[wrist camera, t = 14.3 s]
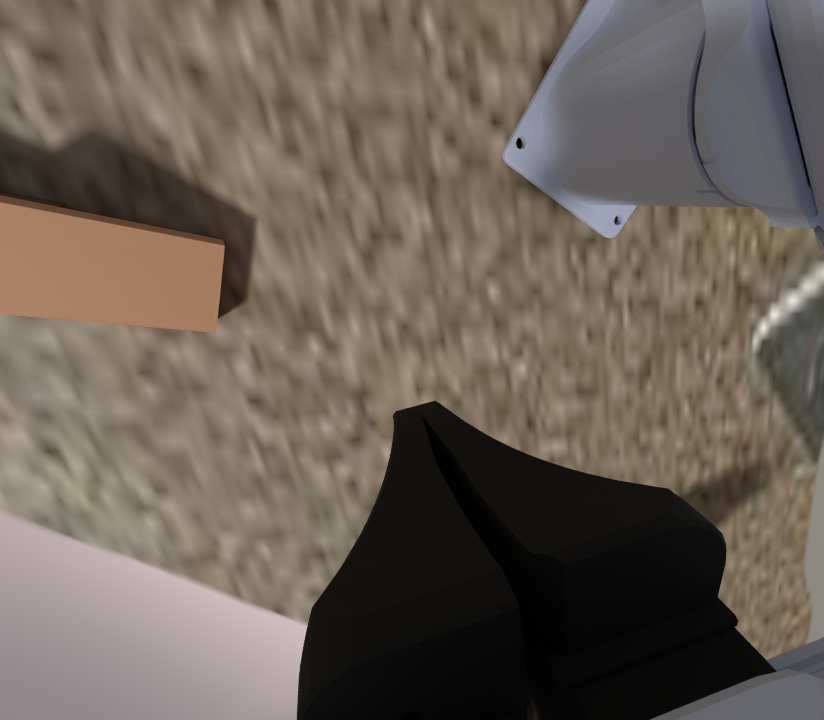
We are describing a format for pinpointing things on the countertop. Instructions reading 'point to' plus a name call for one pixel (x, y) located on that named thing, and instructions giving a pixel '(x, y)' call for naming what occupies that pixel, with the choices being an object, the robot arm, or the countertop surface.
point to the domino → (105, 269)
